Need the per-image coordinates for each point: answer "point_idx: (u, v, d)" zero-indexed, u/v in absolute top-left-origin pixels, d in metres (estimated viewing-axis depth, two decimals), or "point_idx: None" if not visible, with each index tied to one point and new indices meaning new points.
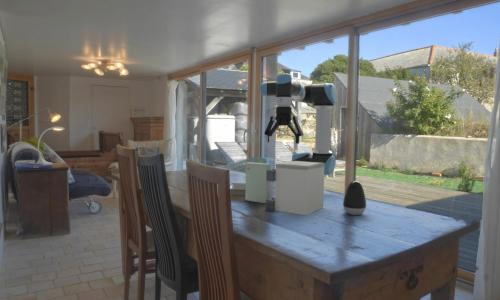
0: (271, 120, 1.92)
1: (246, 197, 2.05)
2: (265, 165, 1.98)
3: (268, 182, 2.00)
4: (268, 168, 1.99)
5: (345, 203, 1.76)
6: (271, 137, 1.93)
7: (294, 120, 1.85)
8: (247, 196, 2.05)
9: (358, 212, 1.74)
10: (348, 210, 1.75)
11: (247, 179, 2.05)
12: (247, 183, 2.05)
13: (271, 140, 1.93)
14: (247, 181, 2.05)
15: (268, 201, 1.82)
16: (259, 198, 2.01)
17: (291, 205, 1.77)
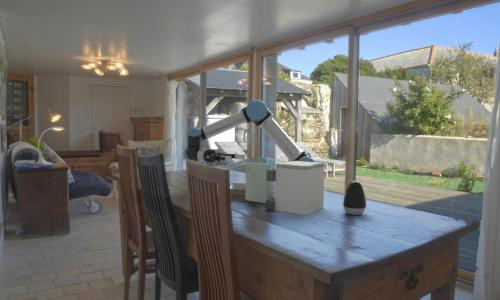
0: None
1: (246, 197, 2.05)
2: (265, 165, 1.98)
3: (268, 182, 2.00)
4: (268, 168, 1.99)
5: (345, 203, 1.76)
6: (235, 157, 2.17)
7: (209, 159, 2.11)
8: (247, 196, 2.05)
9: (358, 212, 1.74)
10: (348, 210, 1.75)
11: (247, 179, 2.05)
12: (247, 183, 2.05)
13: (238, 157, 2.17)
14: (247, 181, 2.05)
15: (268, 201, 1.82)
16: (259, 198, 2.01)
17: (291, 205, 1.77)
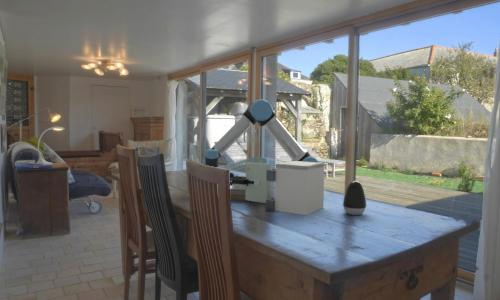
0: None
1: (246, 197, 2.05)
2: (265, 165, 1.98)
3: (268, 182, 2.00)
4: (268, 168, 1.99)
5: (345, 203, 1.76)
6: None
7: None
8: (247, 196, 2.05)
9: (358, 212, 1.74)
10: (348, 210, 1.75)
11: None
12: None
13: None
14: None
15: (268, 201, 1.82)
16: (259, 198, 2.01)
17: (291, 205, 1.77)
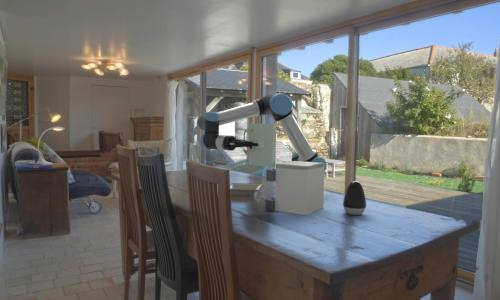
0: None
1: (249, 161, 1.88)
2: (270, 125, 1.81)
3: (274, 144, 1.82)
4: (274, 128, 1.82)
5: (345, 203, 1.76)
6: None
7: (234, 146, 1.88)
8: (250, 160, 1.88)
9: (358, 212, 1.74)
10: (348, 210, 1.75)
11: (251, 141, 1.87)
12: None
13: None
14: None
15: (268, 201, 1.82)
16: (264, 161, 1.84)
17: (291, 205, 1.77)
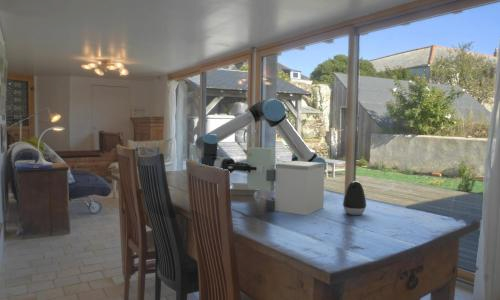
0: None
1: (248, 185, 1.89)
2: (269, 149, 1.81)
3: (272, 168, 1.83)
4: (272, 153, 1.82)
5: (345, 203, 1.76)
6: None
7: (232, 169, 1.88)
8: (249, 184, 1.88)
9: (358, 212, 1.74)
10: (348, 210, 1.75)
11: None
12: None
13: None
14: None
15: (268, 201, 1.82)
16: (262, 186, 1.84)
17: (291, 205, 1.77)
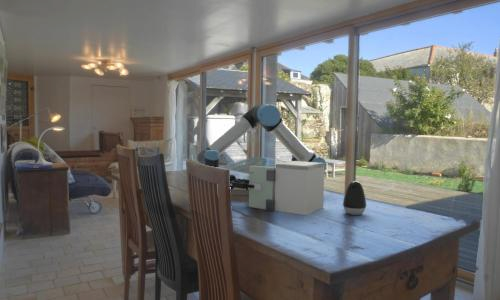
0: None
1: (250, 203, 1.90)
2: (270, 169, 1.82)
3: (274, 187, 1.83)
4: None
5: (345, 203, 1.76)
6: None
7: (232, 186, 1.89)
8: (251, 202, 1.89)
9: (358, 212, 1.74)
10: (348, 210, 1.75)
11: None
12: None
13: None
14: None
15: (268, 201, 1.82)
16: (264, 204, 1.85)
17: (291, 205, 1.77)
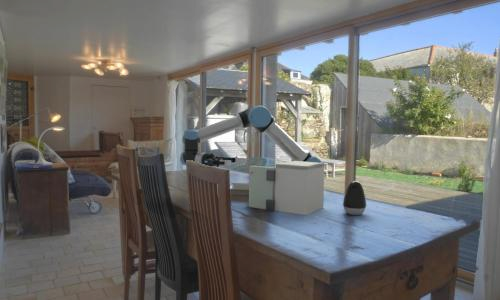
0: None
1: (250, 203, 1.90)
2: (270, 169, 1.82)
3: (273, 187, 1.83)
4: None
5: (345, 203, 1.76)
6: (236, 161, 2.02)
7: (207, 163, 1.96)
8: (251, 202, 1.89)
9: (358, 212, 1.74)
10: (348, 210, 1.75)
11: (251, 184, 1.89)
12: (251, 188, 1.89)
13: (238, 161, 2.01)
14: (251, 186, 1.89)
15: (268, 201, 1.82)
16: (264, 204, 1.85)
17: (291, 205, 1.77)
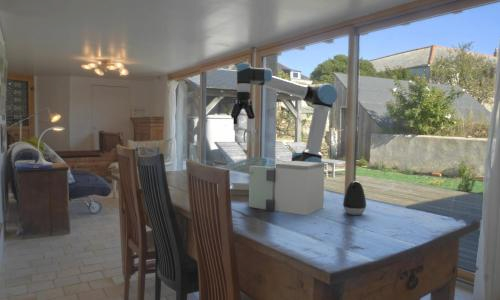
0: None
1: (250, 203, 1.90)
2: (270, 169, 1.82)
3: (273, 187, 1.83)
4: None
5: (345, 203, 1.76)
6: (248, 119, 2.21)
7: None
8: (251, 202, 1.89)
9: (358, 212, 1.74)
10: (348, 210, 1.75)
11: (251, 184, 1.89)
12: (251, 188, 1.89)
13: (248, 122, 2.21)
14: (251, 186, 1.89)
15: (268, 201, 1.82)
16: (264, 204, 1.85)
17: (291, 205, 1.77)
